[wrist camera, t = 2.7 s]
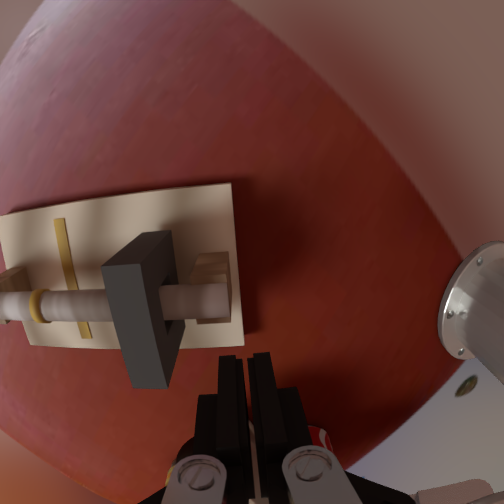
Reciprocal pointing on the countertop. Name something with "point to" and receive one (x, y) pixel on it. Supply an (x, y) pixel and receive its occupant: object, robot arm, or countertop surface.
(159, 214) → the rod stand
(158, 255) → the collar
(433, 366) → the countertop surface
